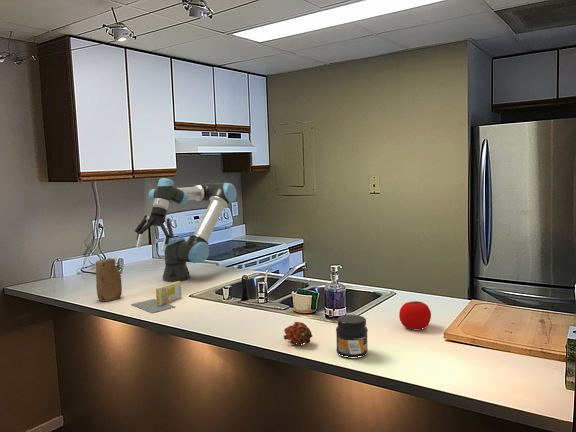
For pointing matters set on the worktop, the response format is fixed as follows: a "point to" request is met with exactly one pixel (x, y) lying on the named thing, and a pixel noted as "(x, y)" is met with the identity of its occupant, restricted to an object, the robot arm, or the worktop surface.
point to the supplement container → (351, 336)
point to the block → (108, 280)
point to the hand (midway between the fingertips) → (150, 248)
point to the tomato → (415, 315)
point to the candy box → (168, 293)
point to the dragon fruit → (298, 333)
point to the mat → (152, 306)
